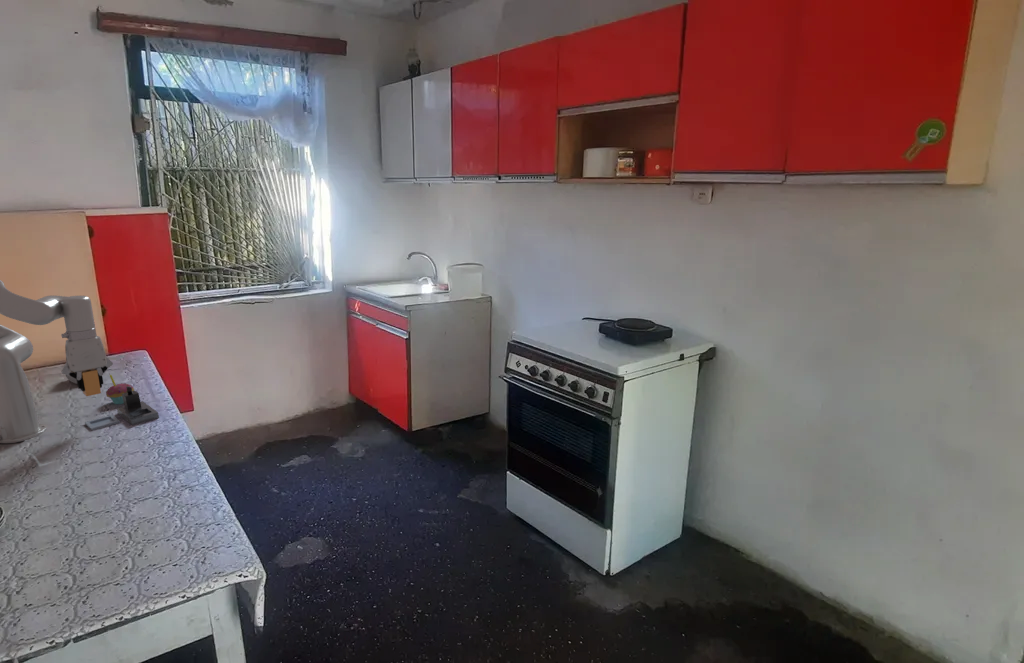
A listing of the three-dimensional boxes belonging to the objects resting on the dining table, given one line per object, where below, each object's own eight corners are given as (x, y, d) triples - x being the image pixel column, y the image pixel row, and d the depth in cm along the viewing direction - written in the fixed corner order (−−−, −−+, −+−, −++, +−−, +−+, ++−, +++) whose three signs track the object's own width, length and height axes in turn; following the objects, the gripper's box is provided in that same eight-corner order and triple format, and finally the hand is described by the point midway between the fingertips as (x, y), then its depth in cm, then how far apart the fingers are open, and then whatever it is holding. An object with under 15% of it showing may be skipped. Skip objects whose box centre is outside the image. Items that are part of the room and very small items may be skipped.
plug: (86, 396, 189) (81, 369, 187) (83, 393, 192) (78, 366, 190) (101, 393, 192) (96, 366, 190) (97, 390, 195) (93, 363, 192)
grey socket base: (159, 419, 199) (154, 391, 196) (132, 426, 193) (126, 398, 190) (143, 407, 209) (138, 381, 207) (118, 414, 203) (112, 387, 201)
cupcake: (113, 409, 209) (106, 377, 206) (104, 403, 214) (97, 372, 211) (140, 401, 215) (133, 370, 212) (130, 396, 220) (124, 366, 217)
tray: (92, 431, 190) (91, 428, 189) (85, 425, 195) (84, 422, 195) (120, 424, 196) (119, 420, 195) (113, 417, 201) (112, 414, 200)
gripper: (52, 341, 179) (62, 398, 183) (115, 332, 191) (124, 385, 195) (46, 337, 183) (57, 392, 188) (109, 328, 195) (117, 379, 200)
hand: (91, 387), depth 192 cm, fingers closed on plug, 4 cm apart
